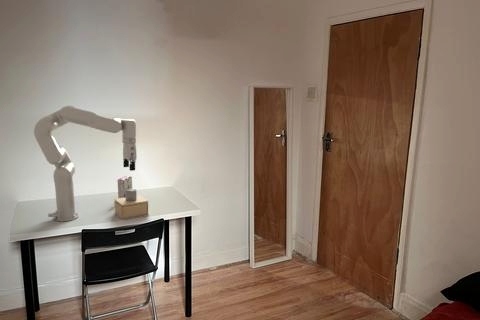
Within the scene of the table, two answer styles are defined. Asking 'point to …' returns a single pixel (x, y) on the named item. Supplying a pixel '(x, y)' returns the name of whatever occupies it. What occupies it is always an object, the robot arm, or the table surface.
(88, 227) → the table surface
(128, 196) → the grey rounded blob
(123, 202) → the box lid
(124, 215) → the cardboard box
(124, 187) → the candy bar box
